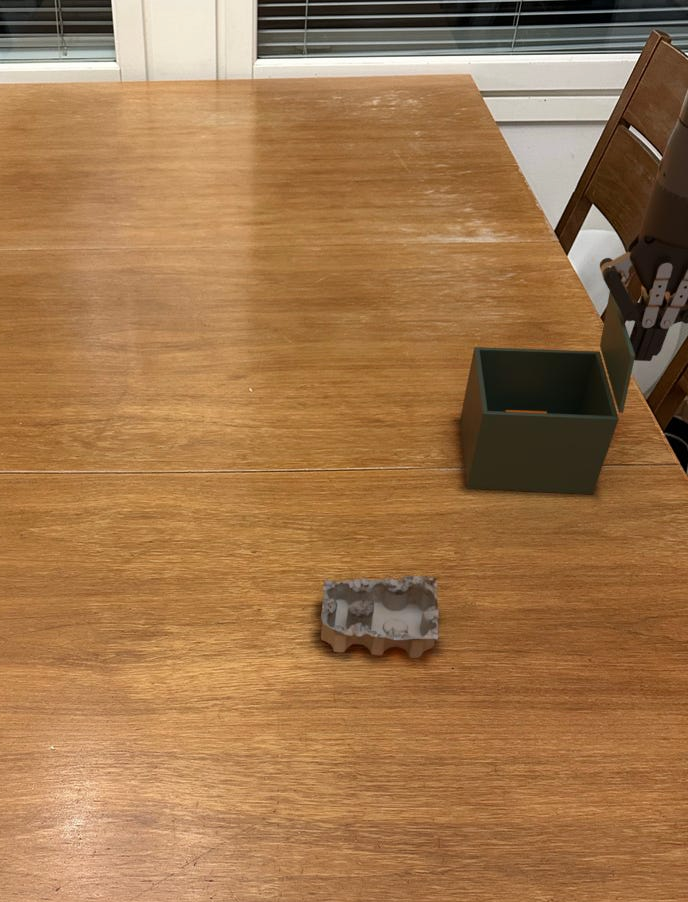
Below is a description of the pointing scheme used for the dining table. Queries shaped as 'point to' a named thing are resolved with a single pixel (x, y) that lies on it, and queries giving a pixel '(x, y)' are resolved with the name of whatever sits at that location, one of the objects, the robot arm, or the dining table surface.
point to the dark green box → (536, 420)
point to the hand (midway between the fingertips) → (641, 356)
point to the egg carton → (381, 614)
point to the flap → (617, 352)
